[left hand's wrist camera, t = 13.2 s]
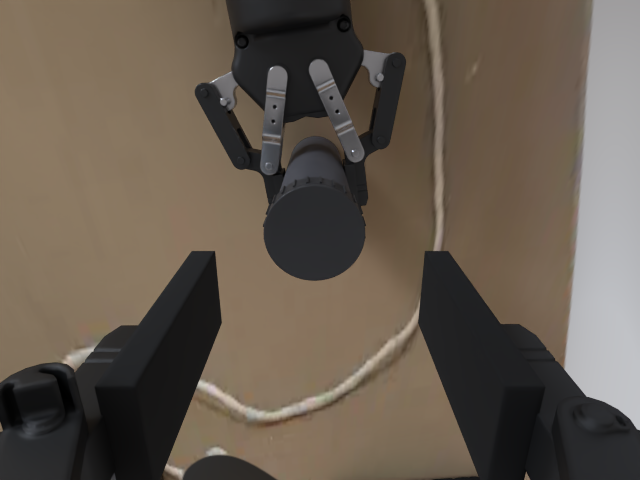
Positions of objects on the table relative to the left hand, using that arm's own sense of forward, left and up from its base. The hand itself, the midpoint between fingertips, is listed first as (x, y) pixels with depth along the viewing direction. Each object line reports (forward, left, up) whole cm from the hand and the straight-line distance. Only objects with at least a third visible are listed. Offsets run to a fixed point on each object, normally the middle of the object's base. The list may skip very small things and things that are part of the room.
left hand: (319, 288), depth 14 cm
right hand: (-3, 0, -17) cm, 17 cm away
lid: (0, 0, -6) cm, 6 cm away
